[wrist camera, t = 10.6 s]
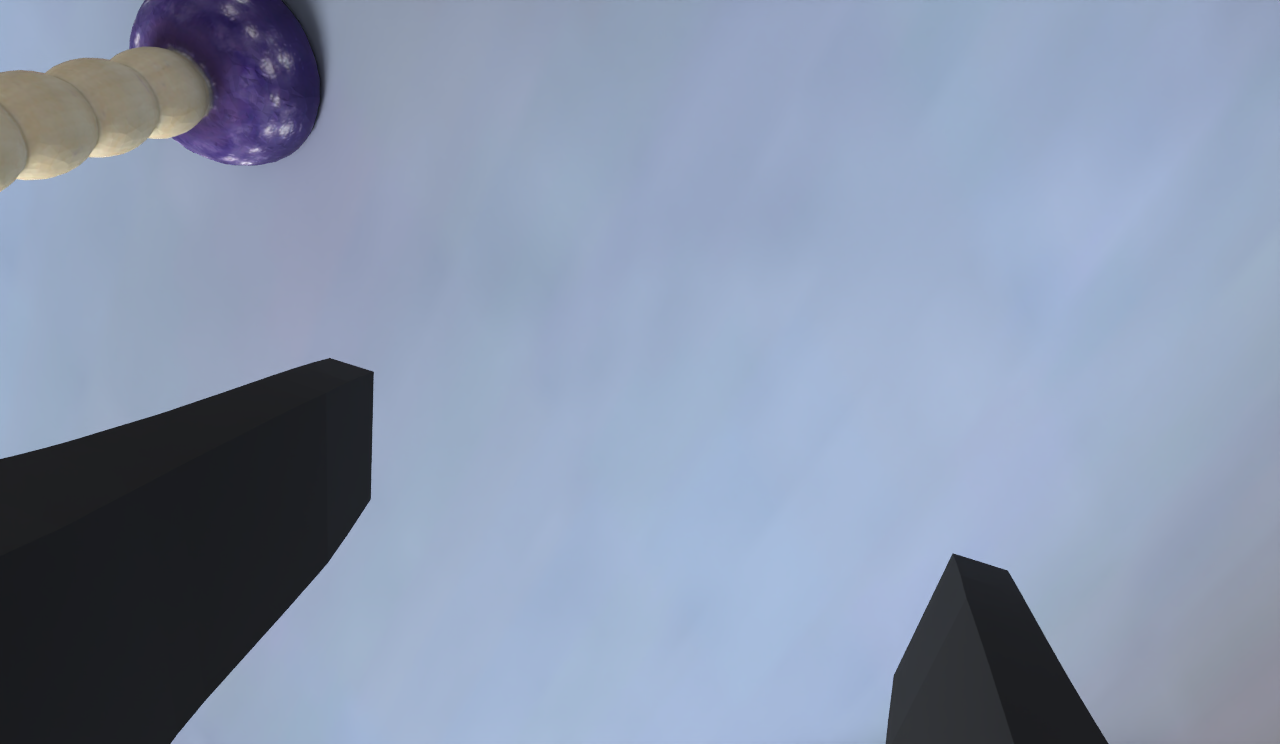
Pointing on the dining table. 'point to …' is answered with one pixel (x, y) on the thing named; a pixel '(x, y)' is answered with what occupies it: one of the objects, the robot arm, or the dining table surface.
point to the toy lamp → (169, 91)
